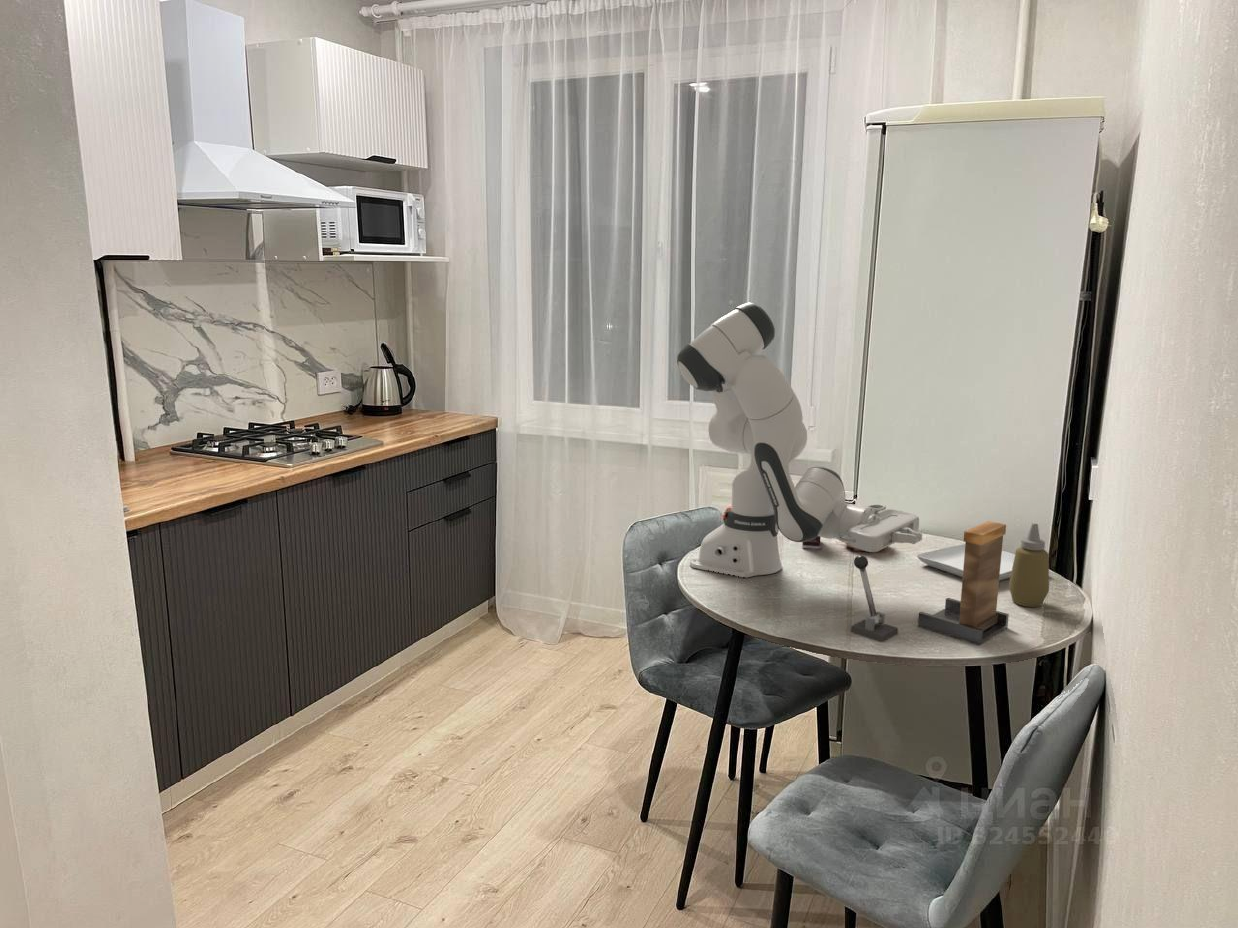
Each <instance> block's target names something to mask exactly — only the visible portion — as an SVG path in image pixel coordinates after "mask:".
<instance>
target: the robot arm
mask: <svg viewBox="0 0 1238 928" xmlns="http://www.w3.org/2000/svg"><path fill="white" fill-rule="evenodd" d="M775 332H776V330H775V326H774V323H773V321H772V318H771V317H770V315H769V314H768V313H767V311H766V310H764V309H763V307H762V306H760V305H758V304H756V303H753V302H746V303H743V304H740V305H739V306H736V307H735V308H734V310H732V311H731V312H729V313H727V314H725V315H723V316H722V317H720V318H719V319H717V320H716V321H714V322H713V323H711V324H710V325H709V327H707V328H706V329H704V330H703V331H702V332H701V333H700V334H698V336H697V337H696V338H694V339H693V340H692V341H691V342H690V343H688V344H686V345H685V346H684V347H683V348H682V349H681V350H680V352H679V353H678V354H677V355H676V356H677V357H676V362H677V366H678V369H679V372H680V375H681V376H682V378H683V379H684V381H686V383H688V384H689V385H690V386H692V387H693V388H695V389H696V390H699V391H703V392H708V393H709V395H710V398H711V399H712V402H713V404H714V405H715V408H716V411H715V413H714V414H713V415H712V417H711V418H710V421H709V422H708V428H707V429H708V436H709V439H710V441H711V443H712V445H714V446H716V447H717V448H719V449H722V450H724V451H727V452H730V453H734V454H740V455H746V456H750V465H749V467H748V468H747V469H745V470H743V471H741V472H739V473H738V474H736V476H735V477H734V478H733V480H732V483H731V506H728V507H727V508H726V509H725V511H724V512H723V514H722V521H723V524H721V525H719V526H718V527H717V528H715V529H713V530H712V531H711V532H709V533H708V534H706V536H705V537H704V538H703V540H702V541H701V544H700V548H699V550H698V552H696V553H694V554H693V555H692V557H691V558H690V563H689V565H690V567H691V568H694V569H698V570H704V571H708V570H709V571H708V572H713V571H714V573H718V572H719V573H718V574H723V573H724V575H728V574H730V575H729V576H733V575H735V576H734V577H738V576H739V577H738V578H743V577H745V578H750V577H755V576H763V575H764V576H765V575H770V574H774V573H777V572H780V571H781V570H782V569H783V566H782V562H781V556H780V553H779V544H778V534H779V532H780V533H781V535H783V537H784V538H786V539H787V540H789V541H791V542H795V543H802V542H807V541H811V540H814V539H816V538H817V536H819V537H821V538H823V539H827V540H829V539H831V540H832V539H835V540H838V541H839V542H841V543H844V544H846V543H848V544H849V545H850V546H852V547H854V548H857V549H861V551H865V552H868V553H877V552H880V551H881V550H884V549H885V548H887V547H889V546H891V545H894V544H895V543H897V544H904V543H905V544H912V545H915V544H917V543H919V542H921V541H922V540H923V534H922V532H920V531H919V527H920V518H919V516H917V515H916V514H914V513H910V512H907V511H903V510H898V509H894V508H887V506H886V505H884V504H873V505H862V504H861V505H859V504H854V503H847V502H846V492H845V487H844V483H843V480H842V478H841V476H840V475H839V474H838V473H837V472H836V471H834V470H832V469H830V468H828V467H824V466H814V467H810V468H808V469H807V470H806V471H805V472H804V474H803V475H802V476H801V478H799V481H797V483H796V485H794V481H793V479H792V477H791V474H790V468H789V466H790V463H791V462H792V461H793V460H794V459H796V458H797V457H799V456H800V455H801V454H802V453H803V451H804V449H805V448H806V445H807V441H808V432H807V429H806V426H805V423H804V422H803V419H804V417H803V410H802V406H801V403H800V401H799V399H798V397H797V394H796V393H795V391H794V389H793V388H792V386H791V384H790V383H789V381H788V379H787V377H786V376H785V374H784V373H783V372H782V370H781V369H780V368H779V367H778V365H777V364H776V363H775V362H774V361H773V360H772V359H771V358H770V357H769V356H767V355H765V354H764V355H763V354H759V353H760V352H761V351H762V350H765V349H767V347H768V346H769V345H770V344H771V342H773V340H774V338H775ZM854 548H853V549H854ZM879 550H880V551H879Z"/></svg>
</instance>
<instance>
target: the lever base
mask: <svg viewBox="0 0 1238 928" xmlns="http://www.w3.org/2000/svg"><path fill="white" fill-rule="evenodd" d="M876 614H879V615H881V617H882V619H883V621H882V623H881V624H879V625H877V626H875V627H874V625H875V619H874V618H870V617H871V616H866V617H865V619H863V620H860V621H859V622H857V623H855V624H852V625H851V626H850V632H851V633H853V632H854V633H853V634H857V635H860V636H863V637H867V638H869V639H872V640H875V641H878V642H881V643H882V642H885V641H887V640H888V639H891V638H892V637H894V636H895V635H898V634H899V627H896V626H892V625H889V624H887V623H885V618H886V614H885V613H883V612H880V611H876Z"/></svg>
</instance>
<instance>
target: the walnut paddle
mask: <svg viewBox="0 0 1238 928" xmlns="http://www.w3.org/2000/svg"><path fill="white" fill-rule="evenodd" d="M1006 530H1007V524H1004V523H1000V522H995V521H990V520H989V521H986V522H983V523H981V524H979V525H976V526H974V527H971V528H969V529H967V530H965V531H963V532H964V533H963V542H965V543H964V544H965V556H964V568H963V577H962V579H961V580H962V582H961V583H962V584H961V594H960V601H961V605H960V617H959V623H963V624H966V625H970V626H973V627H976V628H980V629H983V631H984V630H986V629H988V628H989V627H991V626H993V625H994V624H996V623H998V615H996V611H997V607H998V596H999V587H1000V586H999V584H1000V580H999V576H1000V565H1001V554H1002V551H1003V541H1004V536H1005V535H1006Z"/></svg>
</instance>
